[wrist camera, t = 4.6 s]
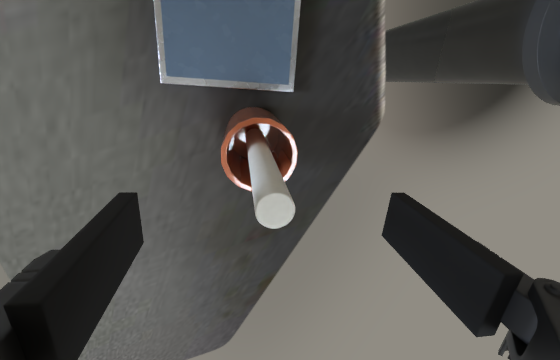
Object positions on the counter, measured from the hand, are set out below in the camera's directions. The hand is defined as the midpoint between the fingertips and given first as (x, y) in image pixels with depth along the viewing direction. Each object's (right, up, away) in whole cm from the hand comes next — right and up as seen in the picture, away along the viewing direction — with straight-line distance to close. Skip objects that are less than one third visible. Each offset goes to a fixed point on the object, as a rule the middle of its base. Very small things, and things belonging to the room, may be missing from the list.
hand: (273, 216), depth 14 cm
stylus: (-3, +7, +19) cm, 21 cm away
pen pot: (-3, +8, +20) cm, 21 cm away
